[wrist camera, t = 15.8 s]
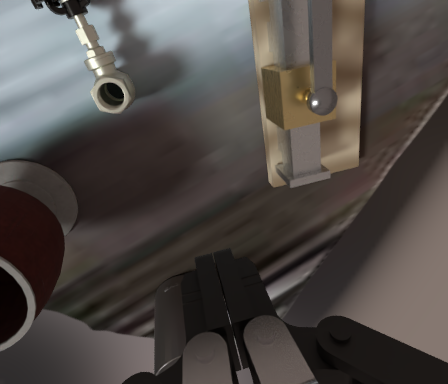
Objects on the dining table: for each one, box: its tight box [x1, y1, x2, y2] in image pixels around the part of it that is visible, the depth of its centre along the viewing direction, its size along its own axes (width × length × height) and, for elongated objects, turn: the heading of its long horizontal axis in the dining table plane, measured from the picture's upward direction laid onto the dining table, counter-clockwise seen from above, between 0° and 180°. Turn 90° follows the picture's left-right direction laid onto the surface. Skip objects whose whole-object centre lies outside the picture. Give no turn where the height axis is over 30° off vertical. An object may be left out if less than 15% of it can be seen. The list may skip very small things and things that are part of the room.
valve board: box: [248, 0, 365, 187], centre depth 38 cm, size 26×13×2 cm, turn 10°
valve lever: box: [307, 0, 338, 116], centre depth 26 cm, size 17×3×2 cm, turn 10°
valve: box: [31, 0, 135, 114], centre depth 31 cm, size 7×7×12 cm
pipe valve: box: [258, 0, 336, 188], centre depth 34 cm, size 21×6×8 cm, turn 10°
